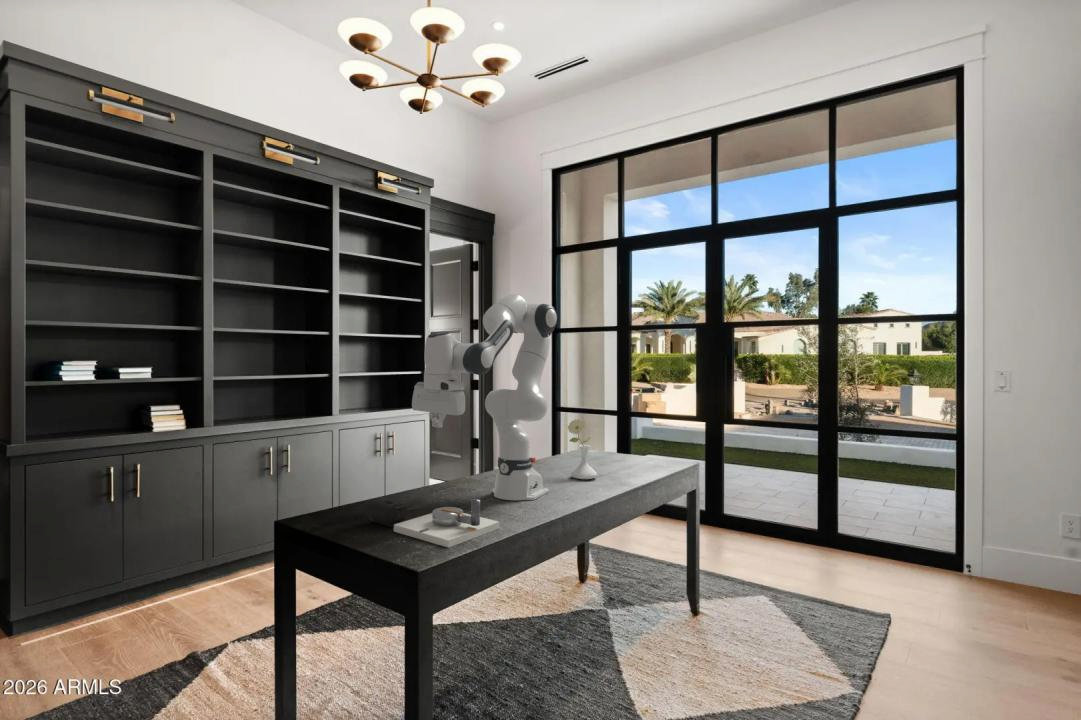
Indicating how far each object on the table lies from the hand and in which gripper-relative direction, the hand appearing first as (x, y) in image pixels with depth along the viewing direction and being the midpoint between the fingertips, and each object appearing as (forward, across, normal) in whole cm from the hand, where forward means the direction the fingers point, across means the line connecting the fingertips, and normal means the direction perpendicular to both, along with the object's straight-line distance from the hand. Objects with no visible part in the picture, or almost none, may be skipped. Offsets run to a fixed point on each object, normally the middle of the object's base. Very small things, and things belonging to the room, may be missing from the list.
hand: (437, 427), depth 187 cm
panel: (+29, +11, -6) cm, 32 cm away
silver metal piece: (+27, +14, -6) cm, 31 cm away
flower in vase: (+29, +6, +80) cm, 85 cm away
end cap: (+29, -7, -14) cm, 33 cm away
